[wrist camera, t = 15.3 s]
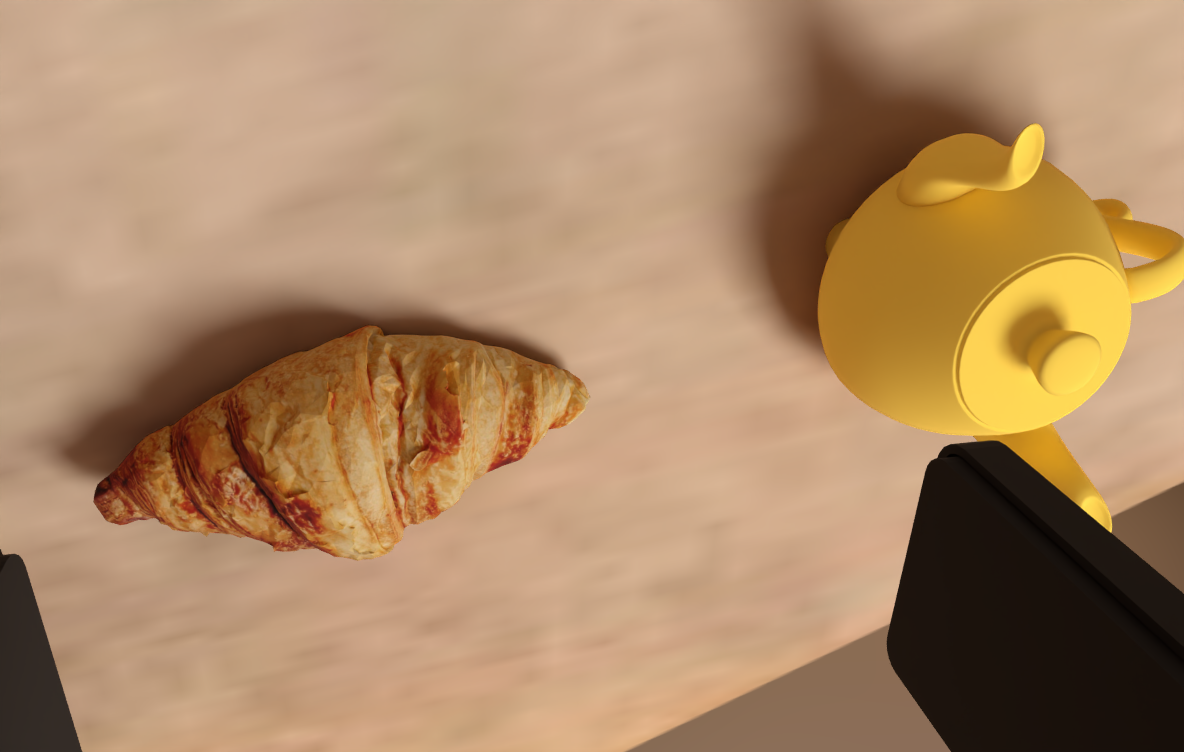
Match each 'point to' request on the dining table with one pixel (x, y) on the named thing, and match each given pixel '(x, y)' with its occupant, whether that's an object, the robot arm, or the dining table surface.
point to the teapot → (989, 298)
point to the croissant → (344, 442)
